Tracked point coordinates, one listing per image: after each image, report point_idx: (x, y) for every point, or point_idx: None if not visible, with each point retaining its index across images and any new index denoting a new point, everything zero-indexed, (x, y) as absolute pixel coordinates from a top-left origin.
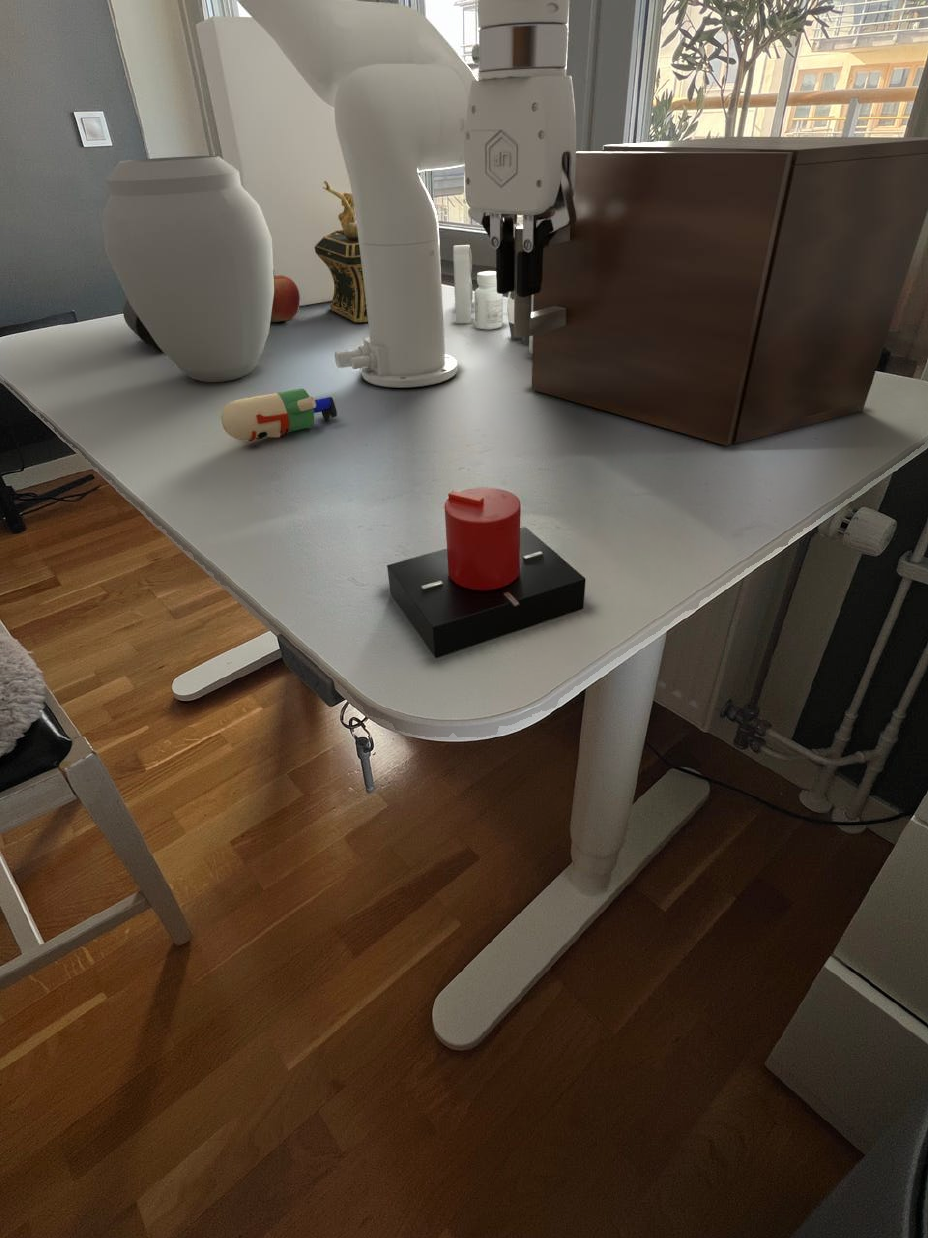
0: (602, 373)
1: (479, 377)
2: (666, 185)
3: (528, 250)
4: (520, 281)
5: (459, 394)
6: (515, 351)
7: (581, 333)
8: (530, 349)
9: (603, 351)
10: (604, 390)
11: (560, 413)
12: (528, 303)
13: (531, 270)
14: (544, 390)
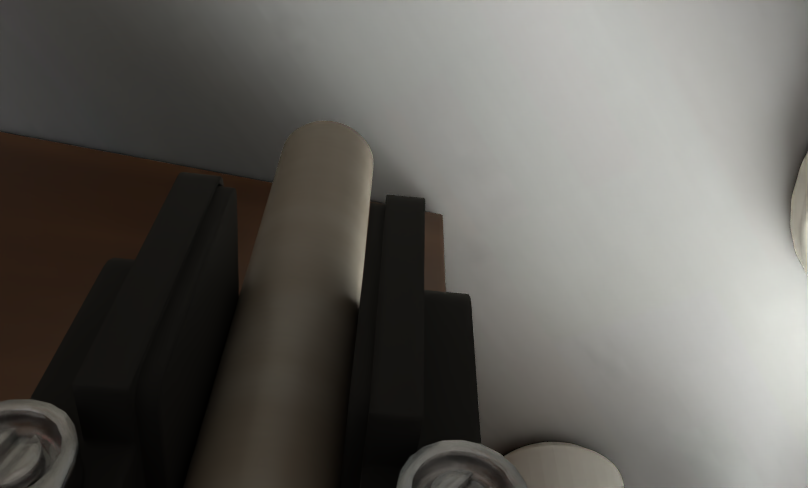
0: (80, 224)
1: (689, 245)
2: None
3: (26, 421)
4: (168, 225)
5: (687, 63)
6: (675, 469)
7: None
8: (605, 463)
9: (52, 277)
10: (86, 188)
11: (220, 69)
12: (253, 248)
13: (85, 320)
14: None
